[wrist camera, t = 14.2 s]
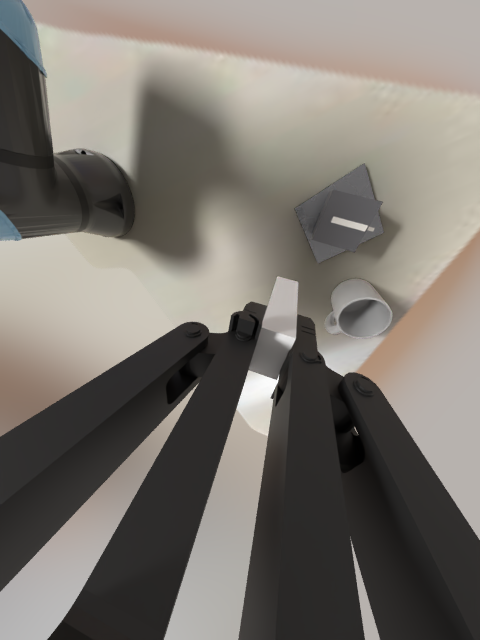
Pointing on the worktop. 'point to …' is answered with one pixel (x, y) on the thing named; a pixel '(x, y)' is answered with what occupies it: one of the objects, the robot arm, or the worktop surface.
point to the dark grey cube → (345, 220)
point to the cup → (358, 310)
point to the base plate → (312, 208)
